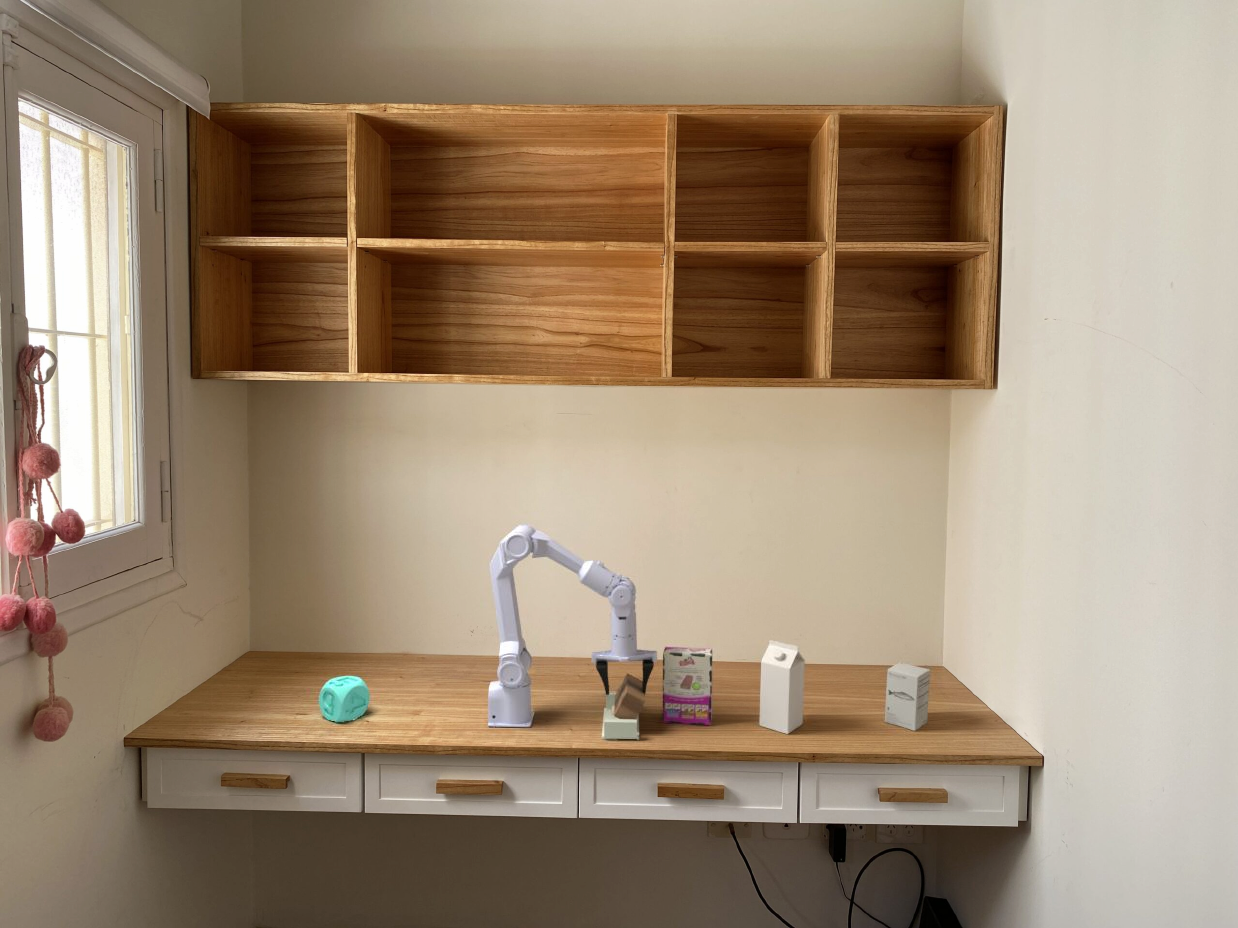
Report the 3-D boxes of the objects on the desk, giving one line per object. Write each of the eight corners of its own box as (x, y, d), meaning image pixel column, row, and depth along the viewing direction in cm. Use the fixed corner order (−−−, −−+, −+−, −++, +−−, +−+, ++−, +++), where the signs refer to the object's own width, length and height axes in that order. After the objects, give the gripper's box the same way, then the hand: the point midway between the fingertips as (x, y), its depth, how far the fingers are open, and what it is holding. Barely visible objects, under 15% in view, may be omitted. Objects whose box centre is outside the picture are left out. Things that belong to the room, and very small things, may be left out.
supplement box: (883, 722, 186) (885, 668, 185) (897, 713, 192) (899, 660, 191) (915, 732, 181) (917, 676, 180) (928, 722, 187) (931, 668, 186)
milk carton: (774, 716, 189) (777, 636, 187) (802, 724, 185) (805, 642, 183) (759, 726, 184) (761, 643, 182) (787, 734, 179) (790, 650, 177)
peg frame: (639, 740, 175) (639, 722, 175) (601, 740, 175) (601, 721, 175) (638, 709, 192) (638, 692, 192) (604, 708, 192) (604, 691, 192)
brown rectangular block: (632, 725, 177) (645, 701, 177) (613, 715, 177) (626, 692, 177) (632, 704, 189) (644, 681, 189) (615, 695, 189) (627, 673, 189)
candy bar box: (711, 717, 188) (713, 647, 187) (711, 726, 183) (713, 654, 182) (663, 714, 190) (664, 645, 188) (661, 722, 185) (662, 652, 183)
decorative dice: (370, 713, 188) (370, 680, 187) (341, 725, 181) (341, 690, 180) (347, 706, 192) (346, 673, 191) (318, 717, 185) (317, 683, 185)
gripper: (590, 639, 178) (592, 700, 179) (656, 638, 178) (658, 698, 179) (591, 630, 185) (593, 688, 186) (655, 628, 185) (657, 687, 186)
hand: (625, 692), depth 183 cm, fingers open, 7 cm apart
